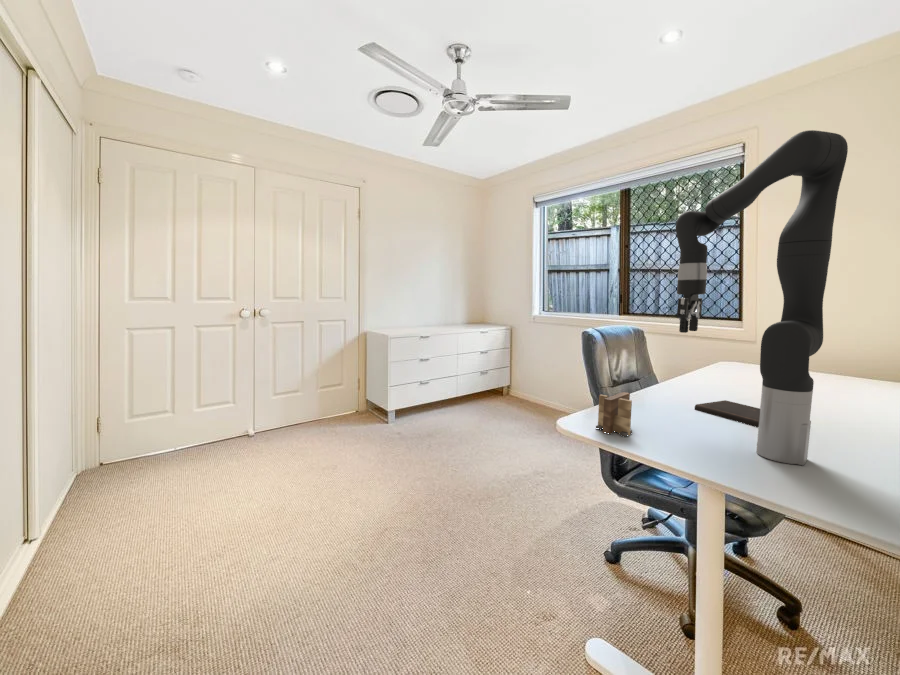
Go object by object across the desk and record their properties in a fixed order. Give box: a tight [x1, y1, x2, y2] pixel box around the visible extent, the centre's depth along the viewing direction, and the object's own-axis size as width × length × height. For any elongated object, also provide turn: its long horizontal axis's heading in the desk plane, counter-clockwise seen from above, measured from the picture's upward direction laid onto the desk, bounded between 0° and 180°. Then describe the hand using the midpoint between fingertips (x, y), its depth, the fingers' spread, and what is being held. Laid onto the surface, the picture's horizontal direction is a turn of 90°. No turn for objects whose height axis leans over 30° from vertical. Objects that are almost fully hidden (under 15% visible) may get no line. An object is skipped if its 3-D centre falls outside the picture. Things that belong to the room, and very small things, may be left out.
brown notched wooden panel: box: [602, 391, 631, 435], centre depth 115 cm, size 2×12×10 cm, turn 132°
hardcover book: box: [694, 400, 760, 428], centre depth 128 cm, size 16×23×2 cm
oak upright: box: [595, 394, 633, 437], centre depth 113 cm, size 9×4×10 cm, turn 42°
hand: (688, 331), depth 121 cm, fingers open, 8 cm apart
